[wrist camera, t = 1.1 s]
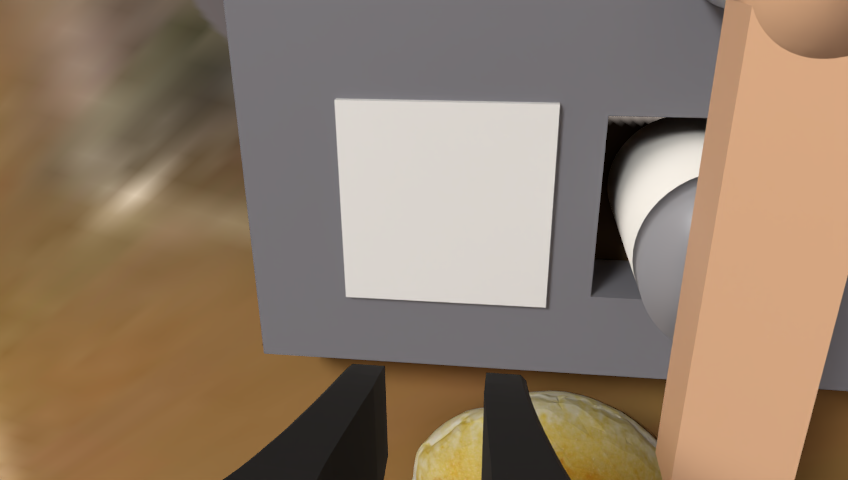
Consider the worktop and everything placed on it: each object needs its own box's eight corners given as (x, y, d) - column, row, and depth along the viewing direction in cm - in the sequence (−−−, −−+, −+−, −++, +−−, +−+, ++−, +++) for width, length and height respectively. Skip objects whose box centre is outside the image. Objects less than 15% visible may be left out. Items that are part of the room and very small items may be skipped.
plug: (764, 116, 19) (863, 188, 14) (739, 249, 21) (818, 361, 15) (614, 112, 19) (651, 180, 14) (601, 243, 21) (629, 350, 16)
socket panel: (1090, -138, 16) (1389, -179, 10) (929, 349, 21) (1074, 494, 16) (247, -122, 18) (130, -148, 13) (289, 312, 23) (218, 427, 18)
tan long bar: (737, -117, 11) (767, -124, 10) (906, -120, 11) (960, -128, 10) (650, 451, 16) (662, 499, 15) (768, 461, 16) (791, 510, 14)
